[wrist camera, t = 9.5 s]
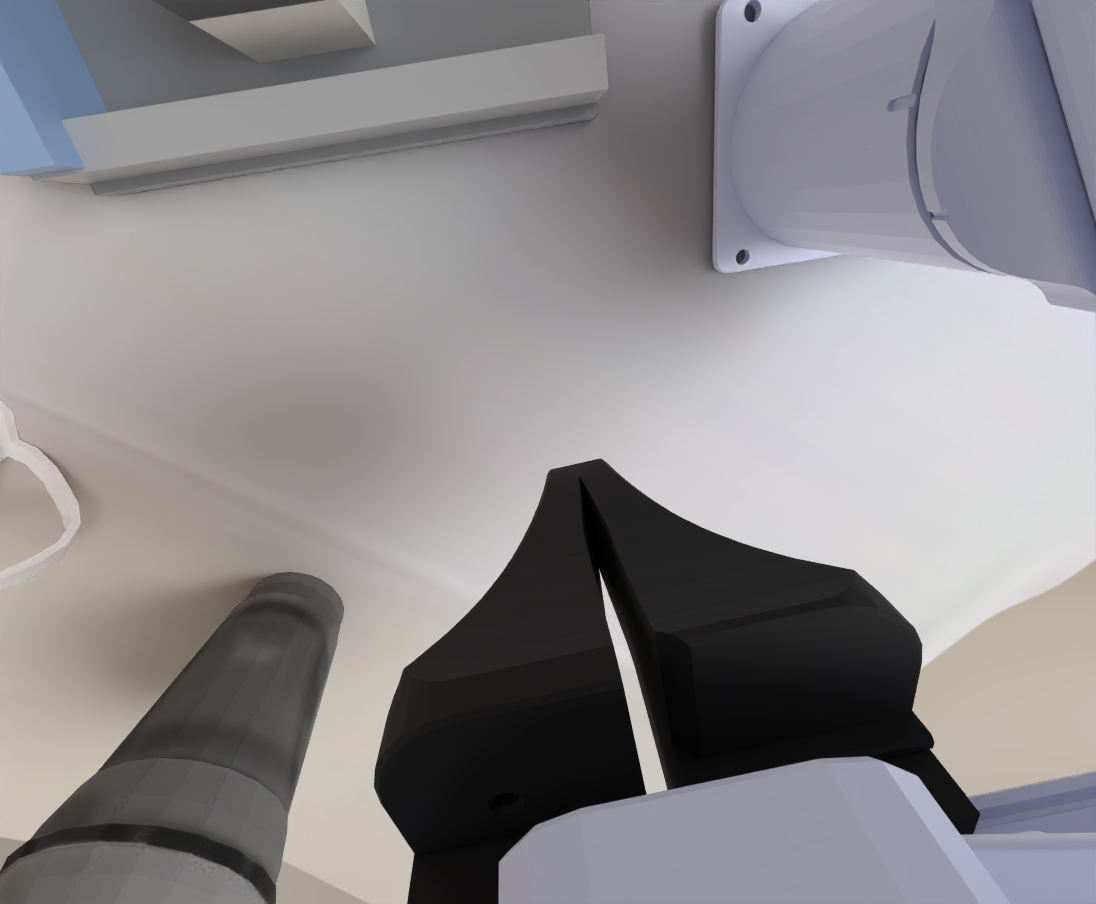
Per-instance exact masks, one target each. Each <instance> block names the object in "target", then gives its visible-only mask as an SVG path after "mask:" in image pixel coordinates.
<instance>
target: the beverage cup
mask: <svg viewBox="0 0 1096 904" xmlns="http://www.w3.org/2000/svg"><path fill="white" fill-rule="evenodd" d="M343 612H344V607H343V604H342V601H341V598H340V597H339V595H338V594H337V593H336V592H335V590H334V589H333V588H332V587H330V586H329V585H327V584H326V583H325V582H323V581H322V580H320V579H317V578H314V577H312V576H309V575H307V574H299V573H292V572H290V573H280V574H275V575H272V576H270V577H267V578H265V579H263V580H262V581H261V582H260V583H258V584H257V585H256V586H255V587H254V589H253V590H252V592H251V593H250V594H249V595H248V596H247V597H246V598H245V599H244V600H243V601H242V602H241V603H240V604H239V605H238V606H237V607H236V608H235V609H234V610H233V611H232V612H231V613H230V615H229V616H228V617H227V618H226V619H225V621H224V622H223V623H222V624H221V625H220V626H219V628H218V629H217V630H216V631H215V632H214V634H213V635H212V636H211V637H210V638H209V640H208V641H207V642H206V643H205V644H204V646H203V647H202V648H201V649H200V650H199V651H198V653H197V654H196V655H195V656H194V657H193V659H192V660H191V661H190V662H189V663H188V665H187V666H186V667H185V668H184V669H183V671H182V672H181V673H180V674H179V675H178V676H177V678H176V679H175V680H174V681H173V682H172V684H171V685H170V686H169V687H168V688H167V690H166V691H165V692H164V693H163V694H162V696H161V697H160V698H159V699H158V700H157V701H156V703H155V704H154V705H153V706H152V707H151V709H150V710H149V711H148V712H147V713H146V715H145V716H144V717H143V718H142V719H141V721H140V722H139V723H138V724H137V725H136V726H135V728H134V729H133V730H132V731H131V732H130V734H129V735H128V736H127V737H126V738H125V740H124V741H123V742H122V743H121V744H120V746H119V747H118V748H117V749H116V750H115V752H114V753H113V754H112V755H111V756H110V757H109V759H108V760H107V761H106V762H105V763H104V765H103V766H102V767H101V768H100V769H99V771H98V772H97V773H96V774H95V775H94V776H92V777H91V778H90V779H89V780H87V781H86V782H85V783H84V784H82V785H81V786H80V787H79V788H78V789H77V790H76V791H75V792H74V793H73V794H72V795H71V796H70V797H69V798H68V799H67V800H66V801H65V802H64V803H63V804H62V805H61V806H60V807H59V808H58V809H57V810H56V811H55V812H54V813H53V814H52V815H51V816H50V817H49V818H48V819H47V820H46V821H45V822H44V823H43V824H42V825H41V827H40V828H39V829H38V830H37V832H36V833H35V834H34V835H33V837H32V838H31V839H30V840H28V841H27V842H26V843H25V844H23V845H22V846H21V847H19V848H18V849H17V850H16V851H15V852H13V853H12V854H11V855H10V856H8V857H7V859H6V861H5V863H4V865H3V867H2V869H1V871H0V904H276V885H275V884H276V881H277V878H278V875H279V872H280V867H281V862H282V856H283V851H284V846H285V840H286V835H287V819H288V814H289V810H290V807H291V803H292V800H293V796H294V793H295V789H296V786H297V782H298V779H299V775H300V772H301V768H302V765H303V761H304V758H305V754H306V751H307V747H308V744H309V740H310V737H311V733H312V730H313V726H314V723H315V719H316V716H317V712H318V709H319V705H320V702H321V698H322V695H323V691H324V688H325V684H326V681H327V677H328V674H329V670H330V667H331V663H332V660H333V656H334V653H335V649H336V646H337V640H338V633H339V629H340V624H341V621H342V619H343Z"/></svg>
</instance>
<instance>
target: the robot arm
mask: <svg viewBox="0 0 1096 904" xmlns="http://www.w3.org/2000/svg"><path fill="white" fill-rule="evenodd" d="M747 4H748V5H752V6H753V7H754V8H755V13H756V15H755V19H754V21H753V22H748V21H747V20H746V19H745V15H744V11H745V6H746V5H747ZM741 250H744V251H745V258H744V260H743V261H742V262H741V263H739V264H738V263H737V262H736V255H737V253H738V252H739V251H741ZM847 254H849V255H856V256H864V257H871V258H878V259H885V260H893V261H900V262H907V263H914V264H922V265H929V266H936V267H943V268H951V269H958V270H965V271H973V272H980V273H987V274H994V275H1002V276H1010V277H1015V278H1019V279H1024V280H1027V281H1029V282H1031V283H1033V284H1035V285H1036V286H1037V287H1038V288H1039V289H1040V290H1041V291H1042V292H1043V293H1044V295H1045V297H1046V299H1047V301H1048V302H1049V303H1050V304H1052V305H1057V306H1063V307H1068V308H1074V309H1079V310H1085V311H1091V312H1096V0H725V1H724V2H723V3H722V4H721V5H720V7H719V9H718V11H717V16H716V43H715V116H714V189H713V266H714V267H715V269H716V270H717V271H719V272H722V273H734V272H740V271H747V270H753V269H759V268H765V267H772V266H778V265H784V264H790V263H797V262H803V261H809V260H816V259H822V258H828V257H834V256H841V255H847ZM599 570H600V572H601V575H602V578H603V580H604V583H605V586H606V588H607V591H608V594H609V596H610V599H611V602H612V604H613V607H614V610H615V612H616V615H617V618H618V620H619V623H620V626H621V628H622V631H623V634H624V636H625V639H626V641H627V644H628V647H629V650H630V653H631V656H632V659H633V662H634V666H635V669H636V673H637V677H638V680H639V684H640V688H641V692H642V695H643V699H644V703H645V706H646V710H647V714H648V718H649V721H650V725H651V729H652V733H653V736H654V740H655V744H656V748H657V751H658V755H659V759H660V763H661V766H662V770H663V774H664V778H665V782H666V785H667V789H668V790H666V791H662V792H657V793H652V794H647V795H646V791H645V786H644V781H643V776H642V772H641V767H640V762H639V758H638V753H637V748H636V744H635V739H634V734H633V729H632V725H631V720H630V715H629V711H628V706H627V701H626V696H625V692H624V687H623V683H622V679H621V674H620V670H619V666H618V662H617V658H616V654H615V650H614V646H613V642H612V639H611V635H610V632H609V628H608V624H607V621H606V616H605V608H604V601H603V594H602V587H601V580H600V572H599ZM921 664H922V643H921V641H920V638H919V636H918V634H917V632H916V630H915V628H914V627H913V626H912V625H911V624H910V623H909V622H908V621H907V620H906V619H905V618H904V617H903V616H902V615H901V614H900V613H899V612H898V611H897V610H896V608H895V607H894V606H893V605H892V604H891V603H890V602H889V601H888V600H887V599H886V598H885V597H884V596H883V595H882V594H881V593H880V592H879V591H877V590H876V589H875V588H874V587H873V586H872V585H870V584H869V583H868V582H867V581H866V580H865V579H863V578H862V577H861V576H860V575H859V574H858V573H857V572H856V571H854V570H851V569H846V568H841V567H836V566H830V565H825V564H820V563H815V562H810V561H805V560H800V559H795V558H791V557H787V556H784V555H780V554H776V553H773V552H769V551H766V550H762V549H759V548H755V547H752V546H749V545H746V544H743V543H740V542H737V541H735V540H732V539H729V538H727V537H724V536H721V535H719V534H716V533H713V532H711V531H709V530H706V529H704V528H702V527H700V526H698V525H696V524H694V523H692V522H690V521H687V520H685V519H683V518H681V517H679V516H678V515H676V514H674V513H672V512H670V511H669V510H667V509H666V508H664V507H662V506H661V505H659V504H658V503H656V502H655V501H653V500H652V499H650V498H649V497H647V496H646V495H645V494H643V493H642V492H641V491H639V490H638V489H637V488H635V487H634V486H633V485H631V484H630V483H629V482H628V481H626V480H625V479H624V478H623V477H622V476H621V475H619V474H618V473H617V472H616V471H615V470H614V469H613V468H612V467H611V466H610V465H609V464H608V463H607V462H605V461H604V460H602V459H596V460H592V461H587V462H583V463H579V464H574V465H570V466H565V467H561V468H556V469H552V470H550V471H549V473H548V474H547V478H546V483H545V487H544V490H543V493H542V496H541V499H540V502H539V505H538V507H537V510H536V512H535V515H534V517H533V519H532V522H531V524H530V526H529V528H528V530H527V532H526V534H525V536H524V538H523V540H522V542H521V543H520V545H519V547H518V549H517V550H516V552H515V554H514V555H513V557H512V559H511V560H510V562H509V563H508V565H507V566H506V568H505V569H504V571H503V572H502V573H501V575H500V576H499V577H498V579H497V580H496V581H495V583H494V584H493V585H492V586H491V588H490V589H489V590H488V591H487V593H486V594H485V595H484V596H483V597H482V599H481V600H480V601H479V602H478V603H477V604H476V605H475V606H474V607H473V608H472V609H471V610H470V611H469V612H468V613H467V614H466V615H465V616H464V617H463V618H462V619H461V620H460V621H459V622H458V623H457V624H456V625H455V626H454V627H453V628H452V629H451V630H450V631H449V632H448V633H447V634H445V635H444V636H443V637H442V638H441V639H440V640H438V641H437V642H436V643H435V644H434V645H432V646H431V647H430V648H429V649H428V650H426V651H425V652H424V653H423V654H422V655H420V656H419V657H418V658H417V659H416V660H414V661H413V662H412V663H411V664H409V665H408V666H407V667H405V668H404V670H403V672H402V676H401V679H400V682H399V684H398V687H397V690H396V692H395V695H394V697H393V700H392V704H391V707H390V710H389V713H388V716H387V720H386V725H385V729H384V733H383V737H382V742H381V746H380V750H379V754H378V759H377V763H376V767H375V778H374V788H375V791H376V793H377V795H378V798H379V800H380V803H381V804H382V806H383V807H384V809H385V810H386V812H387V813H388V815H389V816H390V818H391V819H392V821H393V822H394V824H395V825H396V827H397V828H398V830H399V831H400V833H401V834H402V836H403V837H404V839H405V840H406V842H407V843H408V845H409V846H410V848H411V849H412V850H413V852H414V860H413V867H412V874H411V881H410V888H409V895H408V902H407V904H1096V771H1092V772H1087V773H1082V774H1077V775H1072V776H1068V777H1062V778H1058V779H1053V780H1048V781H1043V782H1038V783H1033V784H1028V785H1024V786H1019V787H1014V788H1009V789H1004V790H999V791H994V792H989V793H985V794H980V795H974V796H970V797H967V796H966V795H965V793H964V792H963V791H962V790H961V788H960V787H959V786H958V785H957V783H956V782H955V781H954V779H953V778H952V777H951V776H950V774H949V773H948V772H947V771H946V769H945V768H944V767H943V766H942V764H941V763H940V762H939V760H938V759H937V758H936V757H935V755H934V754H933V753H932V752H931V750H930V748H933V745H934V740H933V737H932V735H931V733H930V732H929V731H928V730H927V728H926V727H925V726H924V725H923V723H922V722H921V721H920V720H919V719H918V717H917V716H916V715H915V714H914V712H913V711H912V707H913V703H914V698H915V693H916V687H917V683H918V679H919V674H920V669H921Z"/></svg>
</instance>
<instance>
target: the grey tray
mask: <svg viewBox="0 0 1096 904" xmlns="http://www.w3.org/2000/svg"><path fill="white" fill-rule="evenodd" d="M365 2H366V6H367V11H368V15H369V19H370V23H371V27H372V32H373V36H374V40H375V44H376V45H372V46H366V47H359V48H353V49H346V50H340V51H333V52H327V53H321V54H314V55H308V56H301V57H295V58H288V59H282V60H276V61H269V62H263V63H259V62H258V61H256V60H254V59H252V58H251V57H249V56H247V55H245V54H244V53H242V52H240V51H239V50H237V49H235V48H233V47H232V46H230V45H228V44H226V43H225V42H223V41H221V40H220V39H218V38H216V37H214V36H213V35H211V34H209V33H207V32H206V31H204V30H202V29H201V28H199V27H197V26H195V25H194V24H192V23H190V22H188V21H187V20H185V19H183V18H182V17H180V16H178V15H176V14H175V13H173V12H171V11H169V10H168V9H166V8H164V7H163V6H161V5H159V4H157V3H156V2H154V1H152V0H0V175H16V176H31V177H32V179H33V180H34V181H48V182H66V183H83V184H90V185H91V187H92V189H93V191H94V193H95V195H124V194H130V193H136V192H143V191H149V190H155V189H161V188H168V187H174V186H180V185H186V184H193V183H199V182H205V181H211V180H218V179H224V178H230V177H236V176H243V175H249V174H255V173H261V172H268V171H274V170H280V169H286V168H292V167H299V166H305V165H311V164H317V163H324V162H330V161H336V160H342V159H349V158H355V157H361V156H367V155H374V154H380V153H386V152H392V151H399V150H405V149H411V148H417V147H424V146H430V145H436V144H442V143H449V142H455V141H461V140H467V139H474V138H480V137H486V136H492V135H498V134H505V133H511V132H517V131H523V130H530V129H536V128H542V127H548V126H555V125H561V124H567V123H573V122H580V121H586V120H592V119H594V118H595V117H596V116H597V114H598V110H597V102H598V101H599V99H600V98H601V97H602V96H603V95H604V93H605V92H606V91H607V90H608V89H609V88H608V73H607V58H606V44H605V33H600V34H594V35H592V33H591V21H590V8H589V0H365Z"/></svg>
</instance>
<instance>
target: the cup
mask: <svg viewBox="0 0 1096 904" xmlns="http://www.w3.org/2000/svg"><path fill="white" fill-rule="evenodd" d="M7 457H10V458H12V459H14V460H17V461H19V462H21V463H23V464H25V465H26V466H27V467H28V468H29V469H30V470H31V471H32V472H33V473H34V474H35V475H36V476H37V477H38V478H39V479H40V480H41V481H42V482H43V483H44V485H45V486H46V488H47V490H48V492H49V493H50V495H51V497H52V498H53V500H54V502H55V504H56V506H57V508H58V510H59V512H60V514H61V516H62V521H63V525H64V530H65V532H64V534H63V535H62V537H61V538H60V540H59V541H58V542H56V543H55V544H53V545H52V546H50V547H48V548H47V549H45V550H43V551H42V552H40V553H38V554H37V555H35V556H33V557H31V558H29V559H27V560H24V561H22V562H20V563H18V564H15V565H13V566H11V567H9V568H6V569H4V570H2V571H0V591H3V590H5V589H7V588H9V587H11V586H13V585H16V584H18V583H20V582H22V581H24V580H26V579H28V578H31V577H33V576H35V575H36V574H38V573H39V572H41V571H42V570H44V569H45V568H47V567H48V566H50V565H51V564H53V563H54V562H56V561H58V560H59V559H61V558H62V557H63V555H64V554H65V552H66V551H67V549H68V547H69V546H70V544H71V543H72V541H73V540H74V538H75V536H76V534H77V532H78V530H79V527H80V525H81V521H80V512H79V504H78V502H77V500H76V498H75V496H74V495H73V493H72V491H71V489H70V487H69V485H68V484H67V482H66V481H65V479H64V477H63V476H62V474H61V473H60V471H59V470H58V468H57V467H56V466H55V465H54V464H53V463H52V462H51V461H50V460H49V459H48V458H47V457H46V456H45V455H44V454H43V453H42V452H41V451H40V450H39V449H38V448H36V447H34V446H32V445H30V444H28V443H26V442H24V441H22V440H20V439H19V437H18V432H17V428H16V424H15V420H14V415H13V411H12V409H10V408H9V407H8V406H7V405H5V404H4V403H3V402H2V401H1V400H0V462H1V461H2V460H4V459H5V458H7Z"/></svg>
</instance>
